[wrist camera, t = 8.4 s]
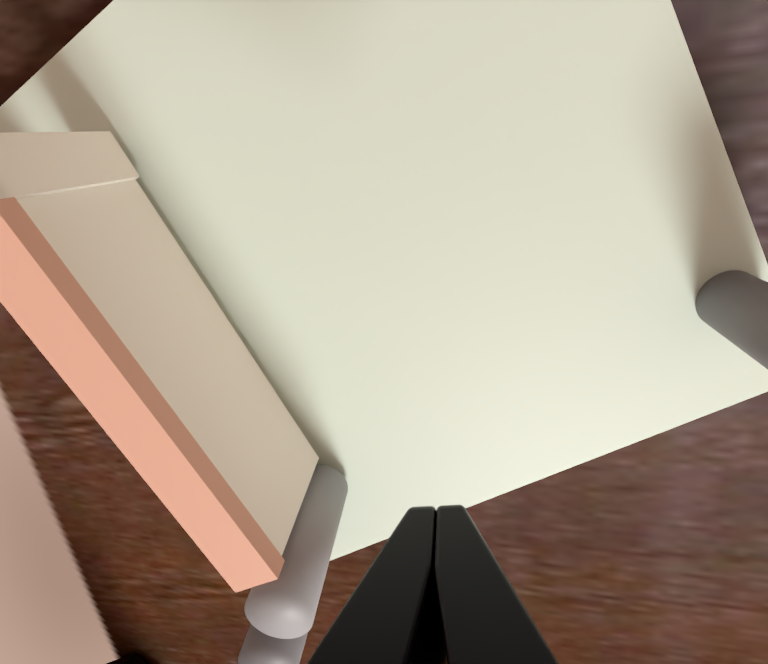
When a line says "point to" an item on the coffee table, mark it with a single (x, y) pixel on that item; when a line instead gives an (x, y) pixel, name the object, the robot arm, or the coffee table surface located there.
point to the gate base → (437, 226)
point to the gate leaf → (164, 370)
